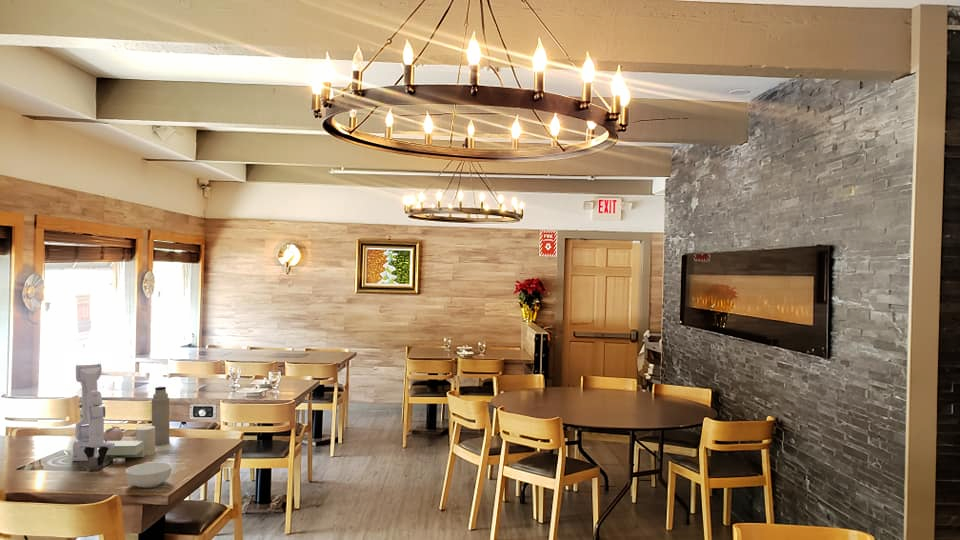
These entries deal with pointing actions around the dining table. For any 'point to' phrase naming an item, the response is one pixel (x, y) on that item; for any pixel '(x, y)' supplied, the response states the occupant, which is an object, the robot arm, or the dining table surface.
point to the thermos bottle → (160, 415)
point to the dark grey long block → (97, 463)
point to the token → (118, 460)
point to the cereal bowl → (148, 474)
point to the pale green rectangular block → (126, 449)
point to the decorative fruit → (113, 434)
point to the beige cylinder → (146, 438)
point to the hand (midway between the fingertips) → (96, 464)
